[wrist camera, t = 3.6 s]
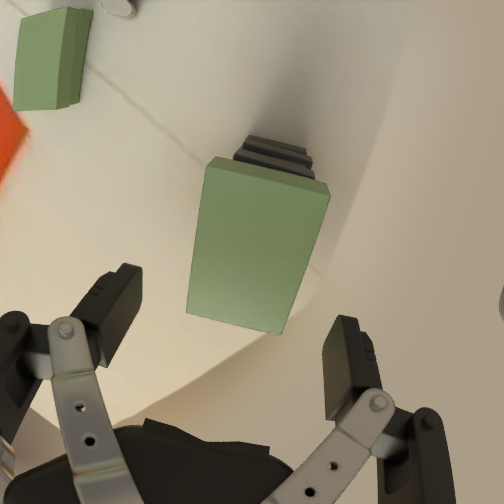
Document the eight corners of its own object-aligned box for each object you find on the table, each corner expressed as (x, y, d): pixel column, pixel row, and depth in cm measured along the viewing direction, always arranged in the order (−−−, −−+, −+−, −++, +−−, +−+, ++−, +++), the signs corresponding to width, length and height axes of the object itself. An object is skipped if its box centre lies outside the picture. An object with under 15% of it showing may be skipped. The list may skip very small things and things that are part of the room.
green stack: (47, 17, 18) (21, 15, 15) (96, 10, 18) (72, 5, 15) (35, 105, 22) (9, 111, 19) (81, 107, 23) (56, 113, 19)
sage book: (215, 155, 15) (205, 165, 13) (327, 183, 15) (331, 195, 13) (193, 294, 19) (185, 313, 18) (282, 315, 19) (281, 336, 18)
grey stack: (245, 130, 23) (221, 156, 15) (309, 146, 23) (319, 180, 15) (225, 228, 27) (198, 293, 19) (282, 242, 27) (277, 312, 19)
